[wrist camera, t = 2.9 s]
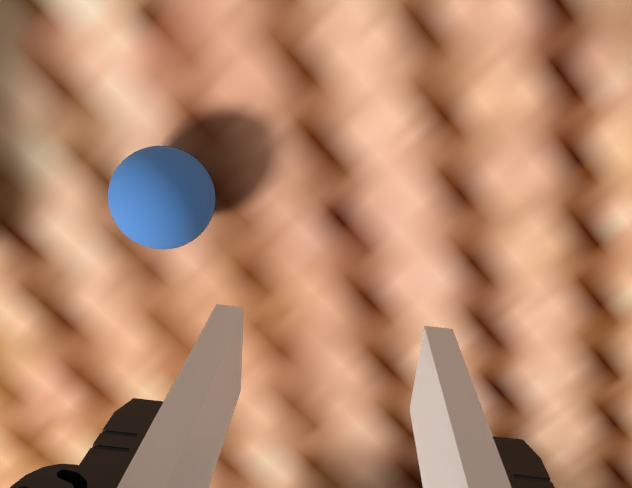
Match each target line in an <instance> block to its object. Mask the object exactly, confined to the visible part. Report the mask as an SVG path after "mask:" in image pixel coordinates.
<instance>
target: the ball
mask: <svg viewBox="0 0 632 488" xmlns="http://www.w3.org/2000/svg"><path fill="white" fill-rule="evenodd" d="M108 202H109V208H110V212H111V214H112V217H113V219H114V221H115V223H116V224H117V226H118V227H119V228H120V230H121V231H122V232H123V233H124V234H125V235H126V236H127V237H129V238H130V239H131V240H133V241H135V242H136V243H138V244H141V245H143V246H146V247H150V248H154V249H172V248H177V247H180V246H183V245H185V244H187V243H189V242H191V241H193V240H194V239H195V238H197V237H198V236H199V235H200V234H201V233H202V232H203V231H204V230H205V228H206V227H207V226H208V224H209V222H210V220H211V218H212V215H213V212H214V208H215V190H214V185H213V182H212V180H211V178H210V175H209V174H208V172H207V170H206V169H205V168H204V166H203V165H202V164H201V163H200V162H199V161H198V160H197V159H196V158H194V157H193V156H192V155H190V154H188V153H187V152H185V151H183V150H180V149H177V148H174V147H168V146H152V147H148V148H144V149H141V150H138V151H136V152H134V153H133V154H131V155H130V156H128V157H127V158H126V159H124V160H123V161H122V163H121V164H120V165H119V166H118V167H117V169H116V170H115V172H114V174H113V176H112V178H111V181H110V185H109V190H108Z"/></svg>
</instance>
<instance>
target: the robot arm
mask: <svg viewBox="0 0 632 488" xmlns="http://www.w3.org/2000/svg"><path fill="white" fill-rule="evenodd" d="M243 316H244V307H237V306H227V305H217V304H216V306H215V308H214V310H213V312H212V313H211V315H210V317H209V319H208V321H207V323H206V324H205V326H204V328H203V330H202V332H201V334H200V336H199V337H198V339H197V341H196V343H195V345H194V347H193V348H192V350H191V352H190V354H189V356H188V358H187V359H186V361H185V363H184V365H183V367H182V369H181V371H180V372H179V374H178V376H177V378H176V380H175V382H174V383H173V385H172V387H171V389H170V391H169V393H168V394H167V396H166V398H165V400H164V402H162V401H153V400H144V399H135V398H133V399H132V400H131V401H129V402H128V403H126V404H125V405H124V406H122V407H121V408H120V409H118V410H117V411H115V412H114V414H113V415H112V417H111V418H110V420H109V421H108V423H107V424H106V426H105V427H104V429H103V432H102V433H100V435H99V436H98V438H97V439H96V441H95V442H94V444H93V447H92V448H90V450H89V451H88V453H87V454H86V456H85V457H84V459H83V460H82V462H81V463H80V465H79V466H78V465H72V464H57V465H52V466H47V467H43V468H40V469H38V470H36V471H34V472H32V473H29V474H27V475H25V476H24V477H23V478H21V479H20V480H19V481H18V482H16V483H15V484H14V485H12V486H11V487H10V488H209V485H210V482H211V479H212V476H213V473H214V470H215V467H216V464H217V461H218V458H219V455H220V452H221V449H222V446H223V443H224V440H225V437H226V434H227V431H228V428H229V424H230V421H231V418H232V415H233V412H234V409H235V406H236V403H237V400H238V397H239V394H240V391H241V367H242V342H243ZM410 414H411V420H412V426H413V432H414V438H415V444H416V450H417V456H418V462H419V468H420V474H421V480H422V486H423V488H554V486H553V483H552V482H550V477H549V475H548V473H547V471H546V469H545V467H544V464H543V462H542V460H541V458H540V457H539V456H538V455H537V454H536V453H535V452H534V451H533V450H532V449H531V448H530V447H529V446H528V445H527V444H526V443H525V442H524V441H523V440H521V439H512V438H502V437H493V436H492V434H491V431H490V428H489V426H488V423H487V420H486V418H485V415H484V412H483V410H482V407H481V404H480V401H479V399H478V396H477V393H476V391H475V388H474V385H473V383H472V380H471V377H470V375H469V372H468V369H467V367H466V364H465V361H464V359H463V356H462V353H461V350H460V348H459V345H458V342H457V340H456V337H455V334H454V332H453V329H448V328H438V327H429V326H424V331H423V337H422V342H421V348H420V354H419V360H418V365H417V371H416V377H415V382H414V388H413V394H412V399H411V405H410Z"/></svg>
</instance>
